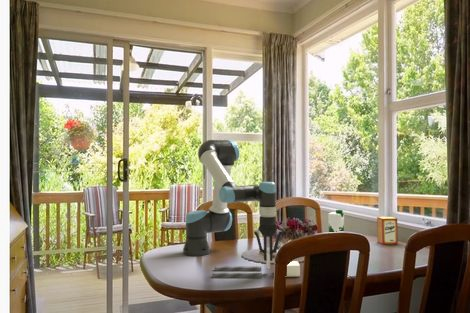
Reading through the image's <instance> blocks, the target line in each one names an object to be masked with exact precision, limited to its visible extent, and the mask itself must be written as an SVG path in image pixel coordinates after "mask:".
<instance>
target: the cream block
mask: <svg viewBox="0 0 470 313" xmlns="http://www.w3.org/2000/svg"><path fill="white" fill-rule="evenodd" d="M300 276H301V265H300V263H299V261H298V260H296V261H295V260H293V261H292V262H290V263H289V264H288V265H287V276H286V277H300Z"/></svg>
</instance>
